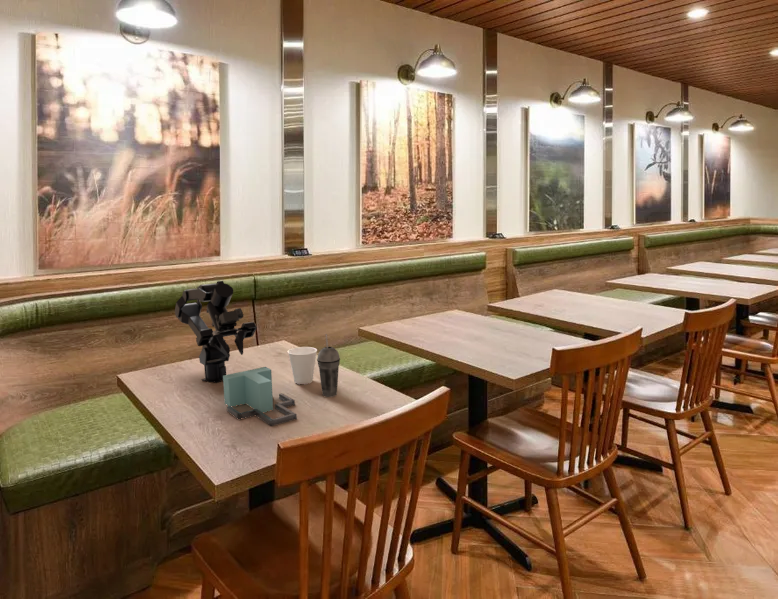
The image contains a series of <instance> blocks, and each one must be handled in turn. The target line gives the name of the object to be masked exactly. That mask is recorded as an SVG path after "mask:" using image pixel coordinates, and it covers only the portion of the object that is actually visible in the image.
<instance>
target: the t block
mask: <svg viewBox="0 0 778 599" xmlns="http://www.w3.org/2000/svg"><path fill="white" fill-rule="evenodd" d="M222 382H223V396H224V397H223V398H224V405H226V404H227V405H228V406H235V407H237V406H236V405H239V406H241V405H240V404H243V405H247V404H248V405H249V406H248V405H247V406H248V407H250V406H251V407H252V408H251V407H250V408H251V409H253V408H254V409H258V410H259V411H261V412H262V413H263V412H264V413H267V411H268V412H271V411H270V410H272V411H273V410H274V403H273V402H274V401H273V398H274V397H273V376H272V369H271V368H269V367H267V366H263V367H258V368H252V369H248V370H243V371H239V372H233V373H229V374H226V375H224V376H223V380H222ZM245 403H246V404H245ZM227 405H226V406H227ZM228 406H227V407H228Z"/></svg>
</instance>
